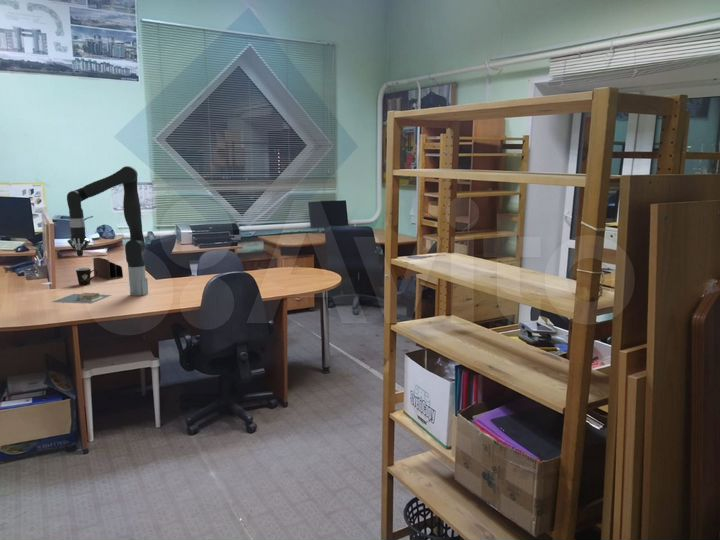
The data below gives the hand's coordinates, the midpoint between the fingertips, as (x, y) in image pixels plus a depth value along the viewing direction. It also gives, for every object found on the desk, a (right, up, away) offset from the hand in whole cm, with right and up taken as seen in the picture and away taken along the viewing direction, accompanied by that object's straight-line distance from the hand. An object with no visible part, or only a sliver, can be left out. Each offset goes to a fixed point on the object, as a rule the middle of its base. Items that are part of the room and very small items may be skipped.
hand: (80, 256), depth 308 cm
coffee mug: (-17, -17, +40) cm, 47 cm away
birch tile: (+2, -23, -2) cm, 23 cm away
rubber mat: (+2, -25, -2) cm, 25 cm away
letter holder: (-14, -13, +64) cm, 67 cm away
